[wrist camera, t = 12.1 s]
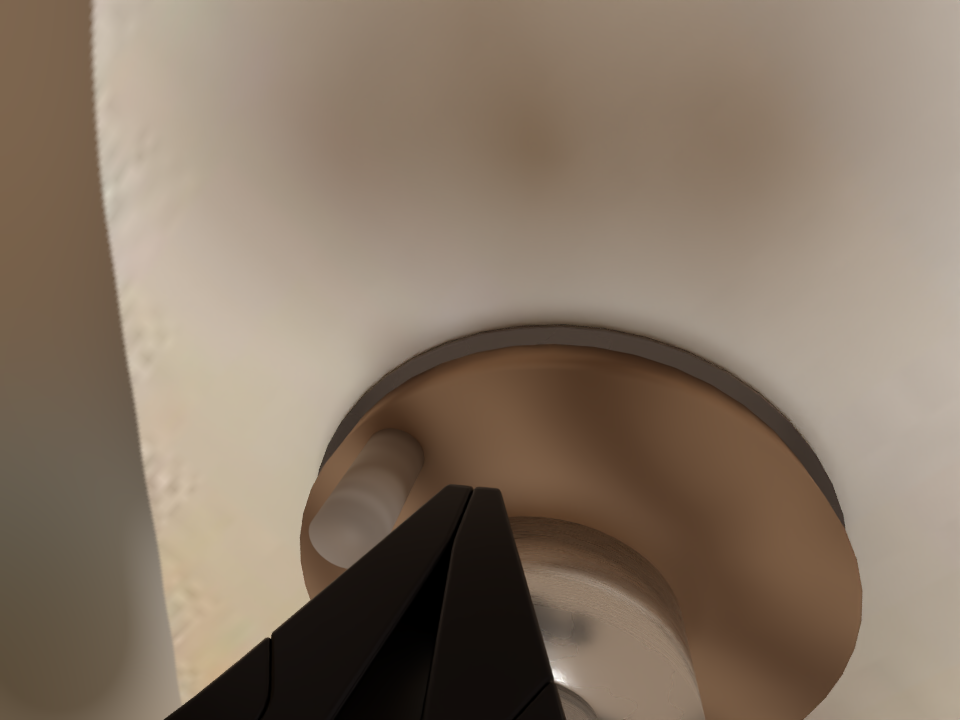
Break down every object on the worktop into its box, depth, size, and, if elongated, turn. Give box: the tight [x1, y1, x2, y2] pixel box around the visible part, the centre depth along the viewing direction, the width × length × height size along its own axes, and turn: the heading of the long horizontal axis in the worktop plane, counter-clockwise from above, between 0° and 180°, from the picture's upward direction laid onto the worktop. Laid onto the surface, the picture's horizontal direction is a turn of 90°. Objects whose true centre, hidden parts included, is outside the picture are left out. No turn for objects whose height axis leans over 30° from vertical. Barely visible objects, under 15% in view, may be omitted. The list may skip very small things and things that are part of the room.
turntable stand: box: [318, 325, 845, 528], centre depth 17 cm, size 21×24×9 cm
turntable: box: [300, 344, 862, 720], centre depth 17 cm, size 20×20×6 cm
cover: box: [509, 516, 705, 720], centre depth 16 cm, size 10×10×4 cm
